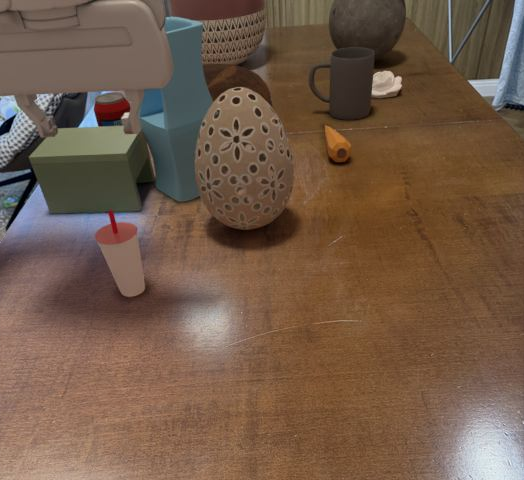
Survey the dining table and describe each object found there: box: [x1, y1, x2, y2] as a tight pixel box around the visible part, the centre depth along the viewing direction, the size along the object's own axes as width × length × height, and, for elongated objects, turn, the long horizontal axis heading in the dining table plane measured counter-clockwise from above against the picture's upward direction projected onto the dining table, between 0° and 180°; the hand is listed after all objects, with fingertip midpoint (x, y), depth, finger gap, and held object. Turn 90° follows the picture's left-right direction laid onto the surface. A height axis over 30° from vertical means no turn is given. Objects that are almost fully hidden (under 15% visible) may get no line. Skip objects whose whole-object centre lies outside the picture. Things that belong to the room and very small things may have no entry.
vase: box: [138, 16, 220, 203], centre depth 83 cm, size 10×10×25 cm
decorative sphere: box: [328, 0, 407, 62], centre depth 133 cm, size 20×20×20 cm
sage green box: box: [28, 126, 156, 215], centre depth 87 cm, size 16×12×10 cm
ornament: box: [195, 87, 295, 231], centre depth 74 cm, size 15×15×20 cm
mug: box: [308, 47, 375, 121], centre depth 109 cm, size 14×9×12 cm
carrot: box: [324, 124, 352, 163], centre depth 100 cm, size 20×4×4 cm, turn 4°
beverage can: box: [93, 91, 131, 127], centre depth 97 cm, size 7×7×12 cm
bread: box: [203, 64, 272, 116], centre depth 117 cm, size 28×27×9 cm
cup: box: [94, 210, 146, 298], centre depth 66 cm, size 5×5×12 cm
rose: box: [371, 70, 403, 99], centre depth 120 cm, size 10×4×10 cm
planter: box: [167, 0, 267, 66], centre depth 138 cm, size 27×27×27 cm
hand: (91, 134), depth 55 cm, fingers open, 8 cm apart
